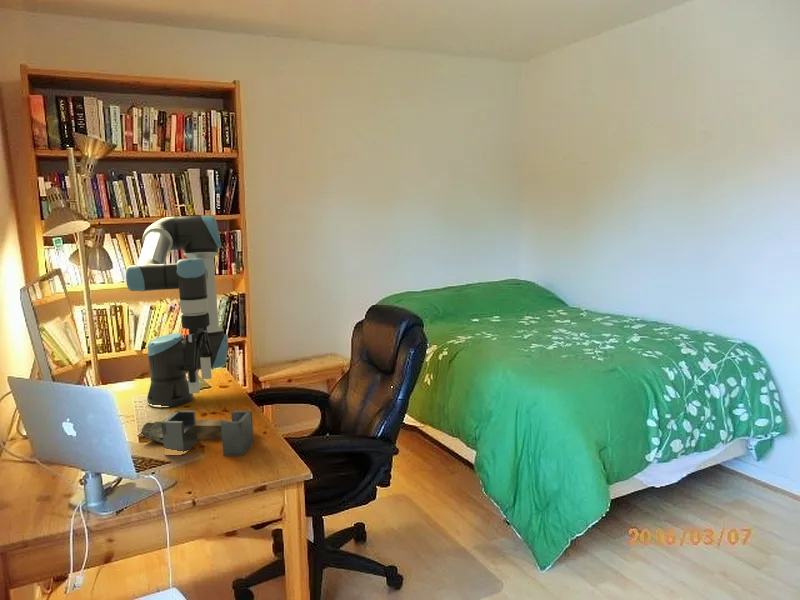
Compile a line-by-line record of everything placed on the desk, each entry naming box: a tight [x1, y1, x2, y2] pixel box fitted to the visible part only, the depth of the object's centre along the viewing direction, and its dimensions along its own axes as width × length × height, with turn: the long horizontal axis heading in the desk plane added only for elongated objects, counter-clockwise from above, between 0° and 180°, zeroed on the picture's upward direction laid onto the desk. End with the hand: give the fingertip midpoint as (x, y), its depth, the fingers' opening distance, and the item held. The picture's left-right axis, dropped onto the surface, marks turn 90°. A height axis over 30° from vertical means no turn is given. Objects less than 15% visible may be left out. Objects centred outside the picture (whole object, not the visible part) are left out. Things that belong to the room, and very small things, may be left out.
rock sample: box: [139, 420, 164, 444], centre depth 179 cm, size 10×8×9 cm
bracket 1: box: [162, 410, 199, 452], centre depth 173 cm, size 9×6×10 cm, turn 176°
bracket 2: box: [221, 410, 255, 457], centre depth 171 cm, size 9×6×10 cm, turn 176°
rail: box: [196, 419, 254, 440], centre depth 181 cm, size 18×4×4 cm, turn 86°
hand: (201, 385), depth 175 cm, fingers open, 13 cm apart
